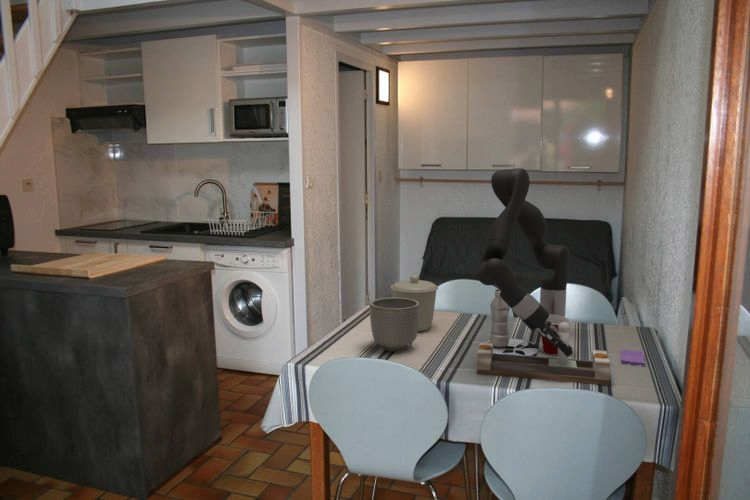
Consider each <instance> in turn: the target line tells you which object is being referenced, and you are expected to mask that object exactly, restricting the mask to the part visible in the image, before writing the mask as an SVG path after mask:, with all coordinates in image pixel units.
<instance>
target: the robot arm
mask: <svg viewBox="0 0 750 500" xmlns="http://www.w3.org/2000/svg"><path fill="white" fill-rule="evenodd" d="M530 180H531V179H530V175H529V172H528V171H527V170H526V169H525V168H518V167H517V168H508V169H505V168H504V169H500V170H497V171H495V172H494V173H493V174H492V176H491V180H490V184H491V188H492V191H493V193H494V195H495V197H497V199H498V201H500V203H501V204H502V205H503V206H504V210H502V211H501V213H500V214H499V215H498V216H497V217H496V219H494V221H493V223H492V224H491V227H490V228H489V231H488V232H489V233H488V237H487V240H486V245H485V250H484V251H483V253H482V256H481V258H480V261H479V264H478V268H477V278H478V280H479V282H480V283H481V284H482V285H484V286H493V285H496V286H497V288H499V289H500V290H501V291H500V297H501V298H502V299H503V300H504V301H505V302H506V304H507V305H508V306H509V307H510V308H509V309H511V311H513V313H514V314H515V315H516V317H518V318H519V319H520V320H521V321H522V322H523V324H524V325H526V327H527V328H528V329H529V330H530V331H534V330H536V329H538V334H540V335H541V334H542V335H543V336H544V338H545V339H546V340H547V341H549V342H550V343H551V344H552V345H553V346H554V347H555V348H559V349H560V350H561V351H562V352H563V353H564V354H565V355H566V356H567V357H568V358H569V357H571V355H573V352H574V351H573V347H572V346H571V345H570V344H569V346H567V345H566V344H565V343H564V341H563V340H562V339H561V338H560V335H559V331H558V330H557V329H556V327H555V326H554V325H553V324H552V322H550V321H549V322H548V321H547V319H548V317H549V314H552V315H559V316H562V317H566V305H567V285H568V280H569V271H570V270H569V269H570V260H571V254H570V250H569V248H568V246H565V245H560V244H559V245H557V244H549V243H547V242H546V241H545V239H544V238H545V236H546V234H547V231H548V222H547V220H546V218H545V215H544V214H543V212H542V211H541V210H540V209H539V208H538V207H537V206H536V205H535V204H533V203H532V202H530V201H528V200H526V198H527V196H528V192H529V189H530ZM515 226H517V228H518V229H519V231H520V232H521V234H522V235H523V236H524V238H525V240H526V242H527V243H528V246H529V248H530V250H531V252H532V254H533V256H534V258H535V261H536V263H537V265H538V266H539V267H540V268H541V269H545V270H550V271H554V273H553V276H551V277H546V278H543V279H541V281H540V291H539V293H540V294H539V301H538V300H537V299H536V298H535V297H534V296H533V295H531V294H530V293H529V292H528V290H526V289H525V288H524V287H523V285H521V283H520V282H518V280H517V278H516V276H515V275H514V273H513V271H512V270H511V268H510V267H509V265H508V264H507V263H506V262H505V261H504V258H505V257H506V256H507V255H508V252H509V251H510V246H511V241H512V236H513V232H514V229H515Z"/></svg>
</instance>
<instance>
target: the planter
mask: <svg viewBox="0 0 750 500" xmlns="http://www.w3.org/2000/svg"><path fill="white" fill-rule="evenodd" d="M419 313H420V303H419V302H418V301H416V300H413V299H409V298H399V297H393V296H392V297H380V298H376V299H373V300H371V301H370V303H369V316H370V328H371V333H372V338H373V340H374V341H375V342H376V343H377V345H380V347H381V348H382V350H384V351H387V352H402V351H406V350H407V349H408V347H409V346H410V345H411V344H413V343H414V342H415V340H416V339H417V337H418V333H419V332H418V325H419Z"/></svg>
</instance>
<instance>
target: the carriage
mask: <svg viewBox="0 0 750 500" xmlns="http://www.w3.org/2000/svg"><path fill="white" fill-rule="evenodd" d="M558 331H559V335H560V338H561V339H562V340H563V341H564V343H565V344H566V345H567V346H569V345H570V344H569V343H570V342H569V339H570V331H571V325H570V324H568V323H566V322H561V323H560V324H559V325H558ZM557 358H558V359H549V362H548V366H557V367H569V368H577V365H576V361H571V360H568V359H569V357H567V356H566V355H565V354H564V353H563V352H562V351H561V350H560V349H559V348H558V355H557Z"/></svg>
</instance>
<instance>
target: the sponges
mask: <svg viewBox="0 0 750 500" xmlns="http://www.w3.org/2000/svg"><path fill="white" fill-rule="evenodd" d="M620 355H621V356H620V358H621V359H620V364H621V363H622V364H621V365H626V364H631V365H630V366H635V365H642V366H641V367H645V364H646V363H645V351H644V350H631V349H621V354H620Z"/></svg>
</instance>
